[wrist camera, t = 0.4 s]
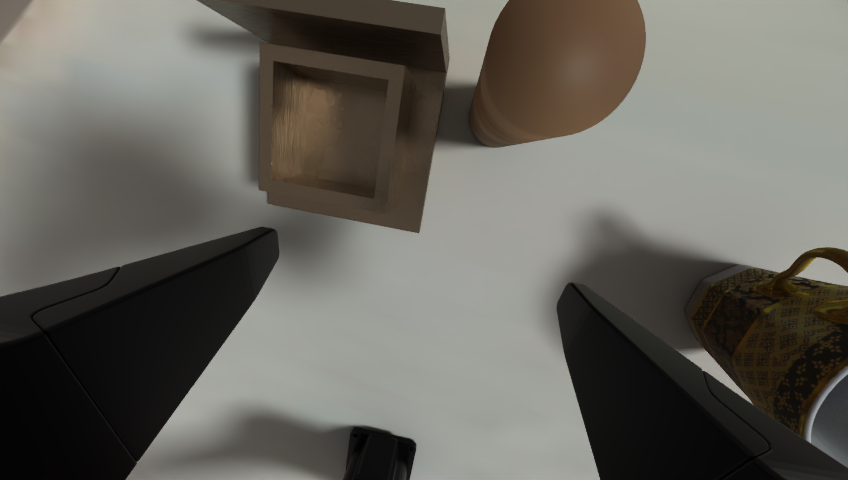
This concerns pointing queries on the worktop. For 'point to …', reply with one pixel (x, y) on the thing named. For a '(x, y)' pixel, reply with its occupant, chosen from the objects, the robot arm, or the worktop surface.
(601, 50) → the wooden pestle
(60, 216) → the worktop surface
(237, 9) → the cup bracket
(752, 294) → the ceramic cup
